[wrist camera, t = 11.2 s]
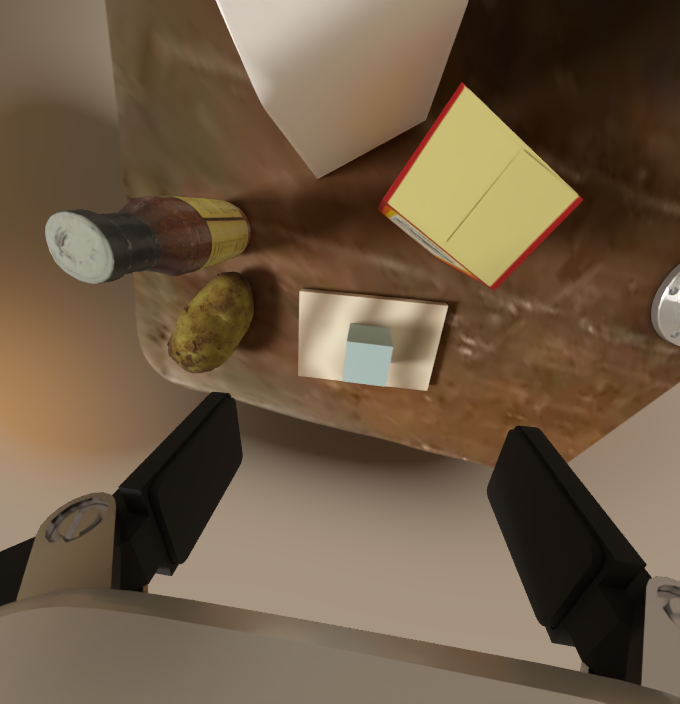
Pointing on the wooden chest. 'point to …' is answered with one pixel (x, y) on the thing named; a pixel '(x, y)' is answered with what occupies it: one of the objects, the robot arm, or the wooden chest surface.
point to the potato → (212, 324)
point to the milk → (343, 68)
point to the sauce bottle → (147, 237)
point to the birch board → (395, 313)
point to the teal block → (367, 355)
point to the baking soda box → (477, 193)
